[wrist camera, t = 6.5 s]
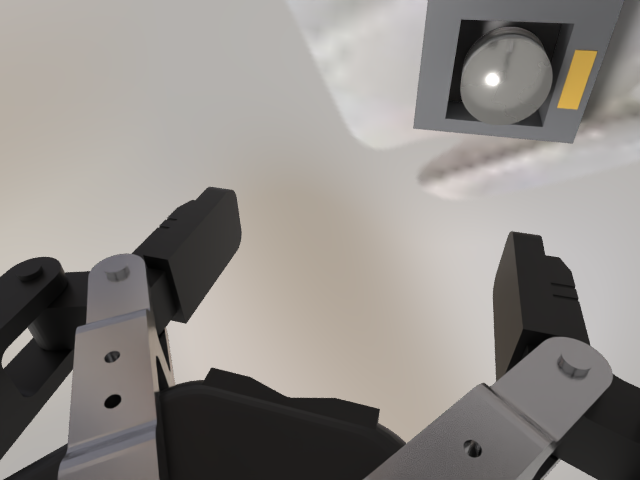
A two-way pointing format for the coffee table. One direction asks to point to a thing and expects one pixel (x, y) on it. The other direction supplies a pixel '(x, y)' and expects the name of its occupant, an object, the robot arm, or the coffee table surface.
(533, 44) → the button
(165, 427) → the robot arm
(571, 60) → the panel
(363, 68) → the coffee table surface
